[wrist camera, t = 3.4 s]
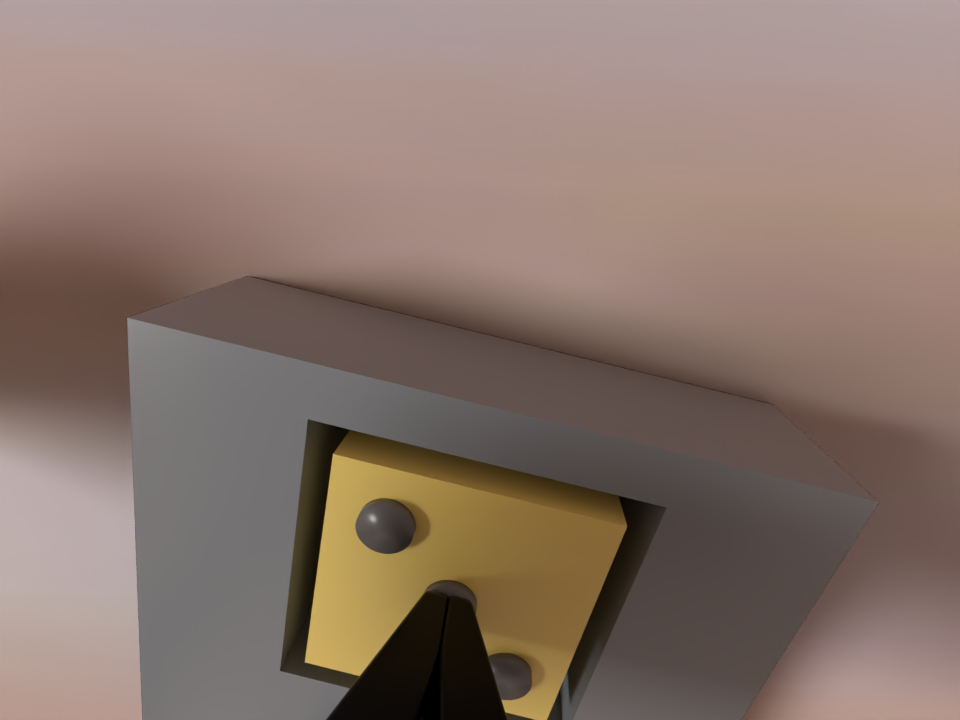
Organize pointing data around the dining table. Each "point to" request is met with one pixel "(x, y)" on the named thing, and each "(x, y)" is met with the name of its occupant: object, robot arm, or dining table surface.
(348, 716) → the robot arm
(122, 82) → the dining table surface
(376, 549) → the button three
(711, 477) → the button panel
